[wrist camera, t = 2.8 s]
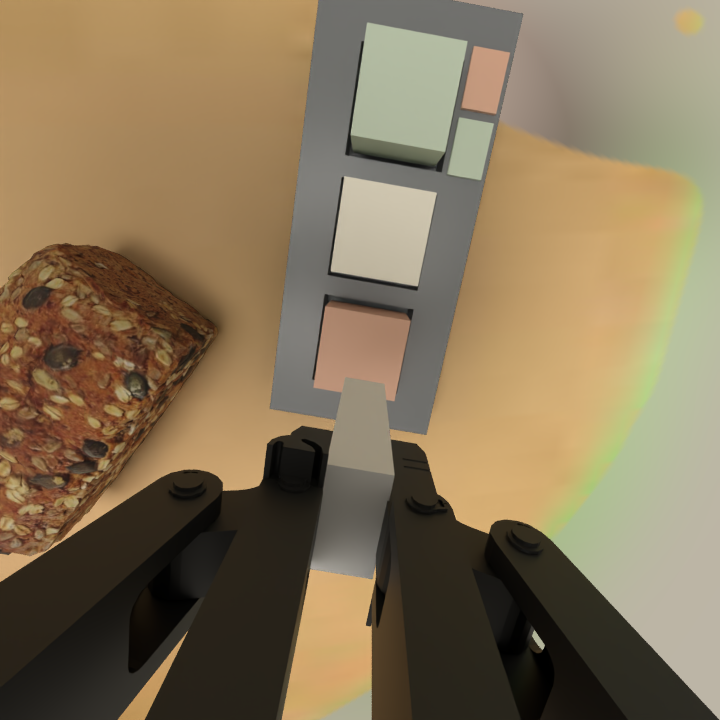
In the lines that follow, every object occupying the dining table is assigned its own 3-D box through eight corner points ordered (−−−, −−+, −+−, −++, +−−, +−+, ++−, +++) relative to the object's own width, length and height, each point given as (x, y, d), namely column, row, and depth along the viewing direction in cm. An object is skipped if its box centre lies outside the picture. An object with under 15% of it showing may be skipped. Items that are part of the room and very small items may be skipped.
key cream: (348, 187, 24) (344, 176, 21) (427, 201, 24) (436, 192, 21) (335, 269, 26) (330, 271, 22) (411, 282, 26) (417, 286, 22)
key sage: (367, 57, 23) (366, 22, 19) (453, 73, 23) (467, 41, 19) (353, 152, 24) (350, 134, 21) (434, 167, 24) (445, 151, 21)
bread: (112, 494, 34) (11, 588, 24) (1, 421, 33) (-154, 490, 23) (234, 329, 30) (171, 363, 21) (114, 238, 29) (-15, 228, 19)
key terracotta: (331, 300, 26) (325, 306, 23) (405, 312, 26) (410, 321, 23) (320, 371, 27) (313, 387, 24) (391, 383, 28) (394, 401, 24)
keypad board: (329, 19, 25) (321, -29, 21) (499, 51, 25) (525, 10, 21) (282, 389, 31) (268, 410, 27) (419, 413, 31) (426, 436, 27)
